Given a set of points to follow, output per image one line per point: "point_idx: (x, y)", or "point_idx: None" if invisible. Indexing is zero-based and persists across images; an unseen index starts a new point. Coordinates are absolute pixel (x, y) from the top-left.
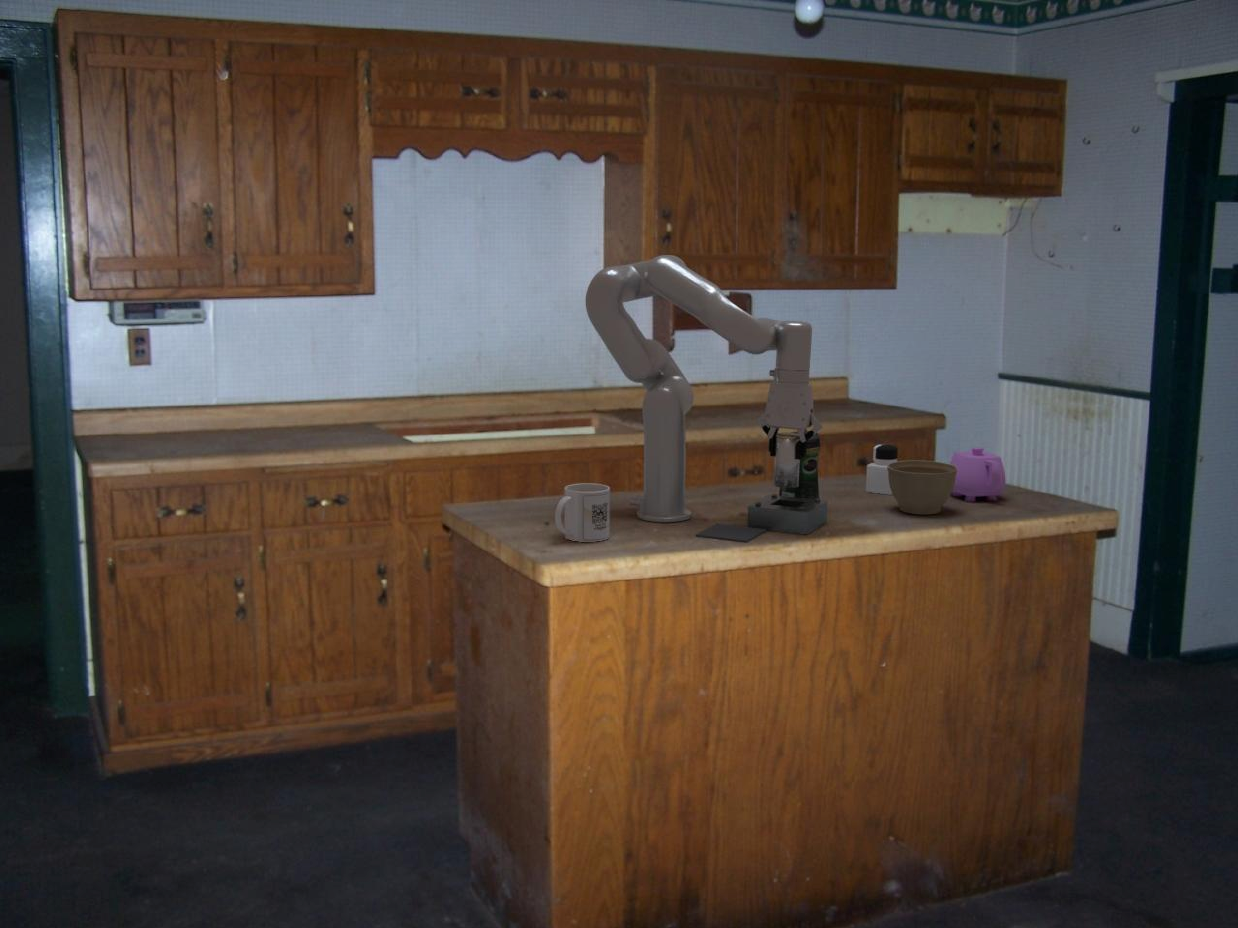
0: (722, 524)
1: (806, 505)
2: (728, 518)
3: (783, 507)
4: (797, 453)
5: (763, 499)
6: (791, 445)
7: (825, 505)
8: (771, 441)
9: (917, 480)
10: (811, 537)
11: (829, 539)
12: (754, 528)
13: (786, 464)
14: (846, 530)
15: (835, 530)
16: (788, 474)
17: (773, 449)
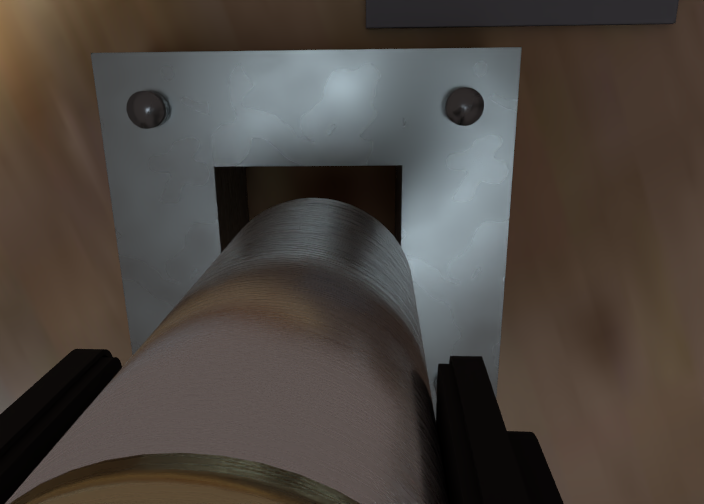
0: (636, 17)
1: (188, 250)
2: (649, 218)
3: (288, 121)
4: (75, 388)
5: (486, 289)
6: (88, 411)
7: None
8: (512, 485)
9: None
10: (102, 9)
11: (4, 13)
12: (435, 13)
13: (238, 263)
14: (30, 248)
15: (73, 223)
16: (241, 241)
17: (449, 410)
